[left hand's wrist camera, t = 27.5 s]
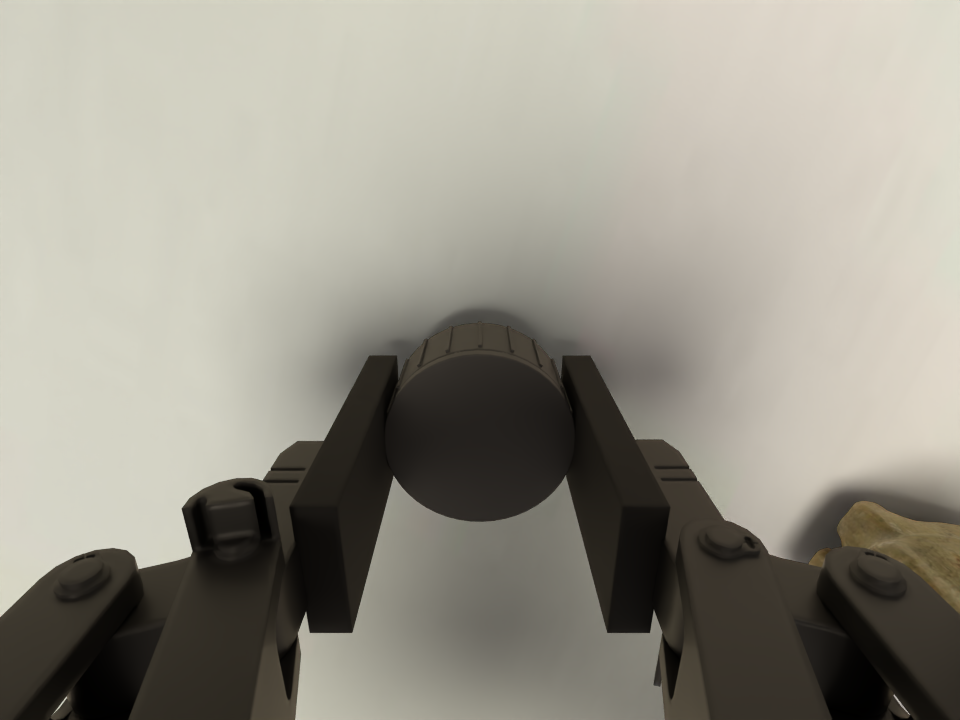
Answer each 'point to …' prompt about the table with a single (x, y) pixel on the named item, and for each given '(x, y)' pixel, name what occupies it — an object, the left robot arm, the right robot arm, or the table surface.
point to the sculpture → (905, 545)
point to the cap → (479, 424)
